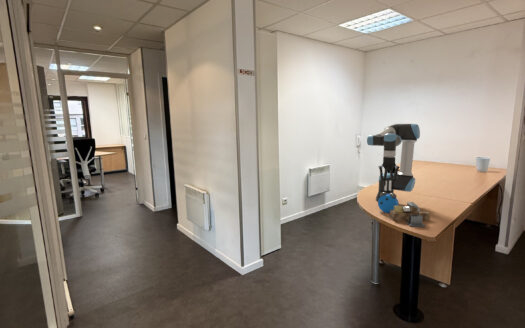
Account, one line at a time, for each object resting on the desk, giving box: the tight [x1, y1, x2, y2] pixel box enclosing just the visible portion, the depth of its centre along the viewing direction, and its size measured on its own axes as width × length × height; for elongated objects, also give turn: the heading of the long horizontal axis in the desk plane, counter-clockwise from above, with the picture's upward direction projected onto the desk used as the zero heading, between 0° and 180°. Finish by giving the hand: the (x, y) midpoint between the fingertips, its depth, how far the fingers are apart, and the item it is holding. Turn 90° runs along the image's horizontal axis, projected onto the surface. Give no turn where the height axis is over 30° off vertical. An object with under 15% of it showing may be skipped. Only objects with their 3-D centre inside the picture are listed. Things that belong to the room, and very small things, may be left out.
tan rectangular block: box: [393, 205, 404, 213], centre depth 194 cm, size 5×4×4 cm
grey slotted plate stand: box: [405, 215, 426, 228], centre depth 183 cm, size 8×9×6 cm
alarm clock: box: [377, 192, 399, 214], centre depth 208 cm, size 13×6×15 cm, turn 49°
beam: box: [389, 201, 431, 222], centre depth 193 cm, size 24×8×11 cm, turn 81°
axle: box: [402, 206, 421, 213], centre depth 192 cm, size 10×4×4 cm, turn 81°
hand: (387, 190), depth 193 cm, fingers open, 2 cm apart
